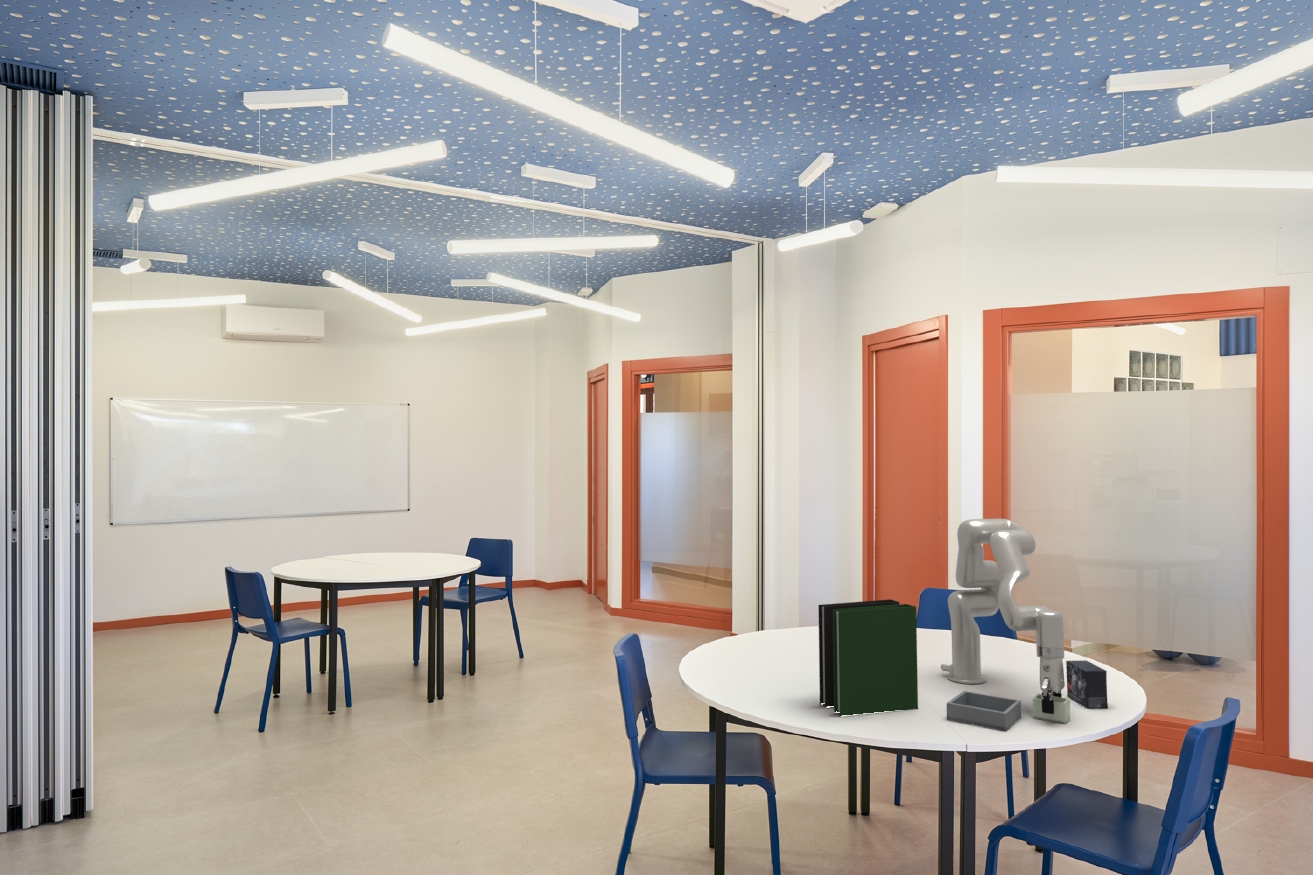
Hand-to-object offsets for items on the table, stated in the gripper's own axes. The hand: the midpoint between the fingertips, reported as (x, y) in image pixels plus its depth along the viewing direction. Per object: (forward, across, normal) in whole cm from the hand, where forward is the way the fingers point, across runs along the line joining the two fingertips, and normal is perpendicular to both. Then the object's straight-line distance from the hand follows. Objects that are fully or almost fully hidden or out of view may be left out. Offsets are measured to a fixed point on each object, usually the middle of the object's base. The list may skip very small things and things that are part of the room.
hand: (1052, 709), depth 241 cm
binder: (+3, -22, +49) cm, 54 cm away
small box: (+3, +24, -5) cm, 25 cm away
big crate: (+3, -12, +16) cm, 20 cm away
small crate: (+3, 0, 0) cm, 3 cm away
